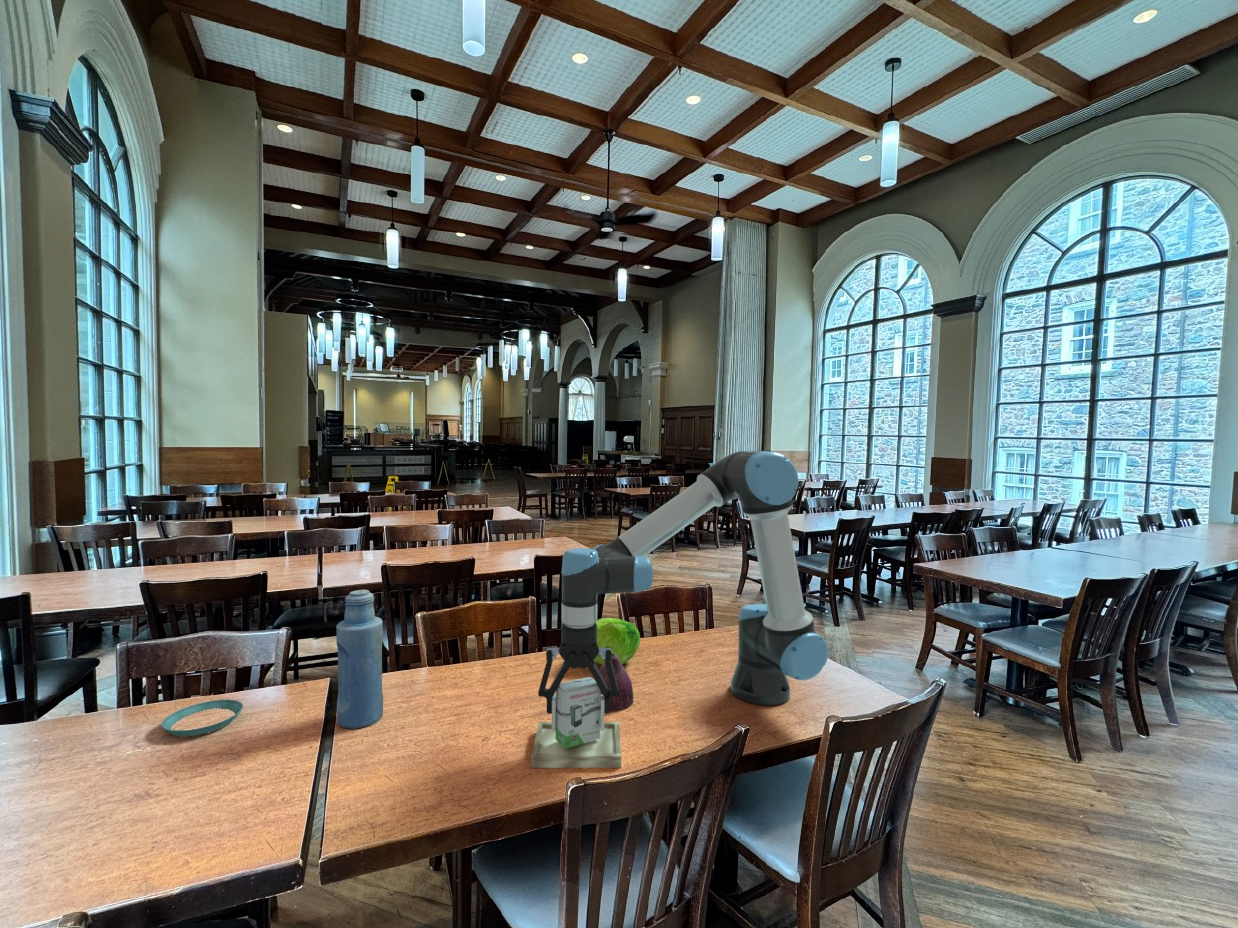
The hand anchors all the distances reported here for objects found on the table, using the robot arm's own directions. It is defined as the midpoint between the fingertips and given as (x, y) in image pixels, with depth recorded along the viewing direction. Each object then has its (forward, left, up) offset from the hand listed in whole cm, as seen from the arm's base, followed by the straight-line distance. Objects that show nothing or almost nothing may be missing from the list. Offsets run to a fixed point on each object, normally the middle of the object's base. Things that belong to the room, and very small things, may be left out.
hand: (578, 727), depth 117 cm
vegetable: (-8, -22, -5) cm, 24 cm away
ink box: (0, 0, -3) cm, 3 cm away
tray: (0, 0, -4) cm, 4 cm away
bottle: (+51, -13, -5) cm, 53 cm away
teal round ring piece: (+85, -11, -5) cm, 86 cm away
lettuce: (-7, -47, -5) cm, 48 cm away
